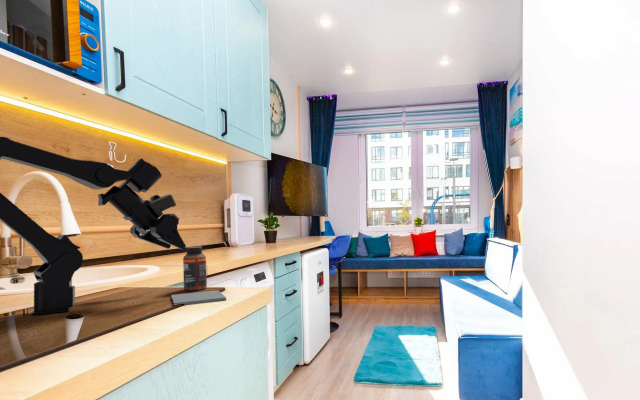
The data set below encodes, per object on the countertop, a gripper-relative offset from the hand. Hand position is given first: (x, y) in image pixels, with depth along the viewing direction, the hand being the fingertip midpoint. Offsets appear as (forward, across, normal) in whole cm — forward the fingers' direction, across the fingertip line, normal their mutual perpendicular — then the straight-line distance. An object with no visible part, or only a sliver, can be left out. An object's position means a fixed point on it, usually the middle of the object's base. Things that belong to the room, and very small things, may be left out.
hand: (176, 247), depth 102 cm
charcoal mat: (+7, -14, +9) cm, 18 cm away
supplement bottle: (+12, 0, +5) cm, 13 cm away
